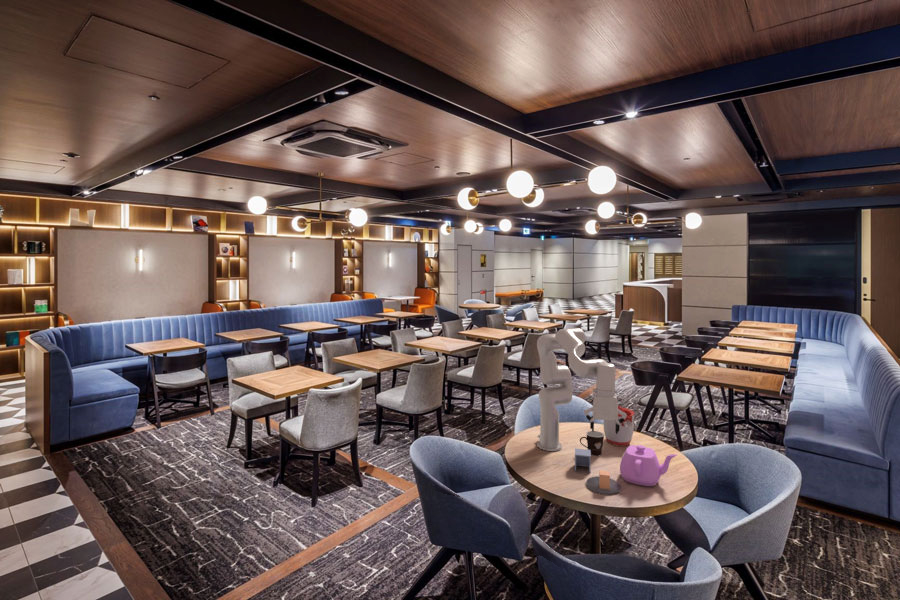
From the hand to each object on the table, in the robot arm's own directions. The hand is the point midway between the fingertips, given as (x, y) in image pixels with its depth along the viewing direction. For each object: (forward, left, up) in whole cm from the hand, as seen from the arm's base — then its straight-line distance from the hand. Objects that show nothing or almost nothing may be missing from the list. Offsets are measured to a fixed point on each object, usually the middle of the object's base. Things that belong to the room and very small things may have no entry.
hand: (604, 431), depth 191 cm
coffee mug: (-29, +19, -24) cm, 42 cm away
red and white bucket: (-33, +41, -24) cm, 58 cm away
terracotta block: (+2, -1, -23) cm, 23 cm away
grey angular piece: (-17, +3, -24) cm, 30 cm away
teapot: (+2, +20, -25) cm, 32 cm away
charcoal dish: (0, 0, -24) cm, 24 cm away
